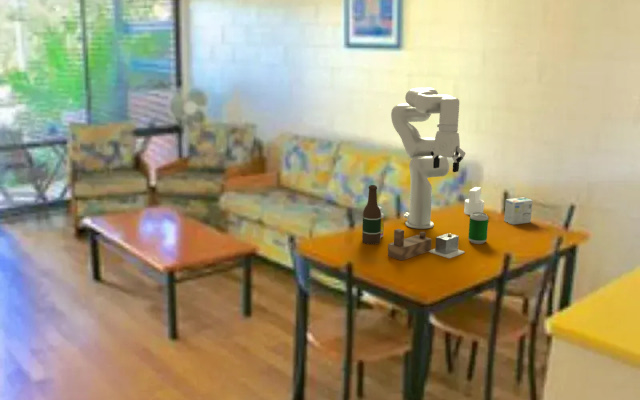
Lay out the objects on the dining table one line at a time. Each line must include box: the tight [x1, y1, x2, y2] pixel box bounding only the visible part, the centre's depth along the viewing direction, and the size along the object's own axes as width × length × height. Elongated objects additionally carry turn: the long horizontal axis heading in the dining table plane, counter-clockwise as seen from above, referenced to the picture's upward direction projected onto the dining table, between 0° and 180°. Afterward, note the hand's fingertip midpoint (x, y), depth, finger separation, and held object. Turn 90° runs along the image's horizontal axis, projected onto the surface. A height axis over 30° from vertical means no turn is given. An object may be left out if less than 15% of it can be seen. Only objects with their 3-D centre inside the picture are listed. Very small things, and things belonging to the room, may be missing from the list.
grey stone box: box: [434, 232, 460, 255], centre depth 267 cm, size 8×5×7 cm, turn 132°
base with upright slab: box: [463, 186, 485, 216], centre depth 323 cm, size 9×9×12 cm
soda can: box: [468, 212, 489, 245], centre depth 280 cm, size 8×8×12 cm
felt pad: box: [428, 248, 466, 259], centre depth 268 cm, size 10×10×1 cm
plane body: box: [387, 228, 433, 261], centre depth 265 cm, size 18×7×11 cm, turn 133°
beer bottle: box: [361, 184, 382, 245], centre depth 277 cm, size 8×8×24 cm
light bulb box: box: [503, 196, 533, 225], centre depth 309 cm, size 11×7×11 cm, turn 114°
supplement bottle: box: [378, 205, 385, 239], centre depth 286 cm, size 7×7×13 cm
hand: (445, 169), depth 275 cm, fingers open, 9 cm apart
